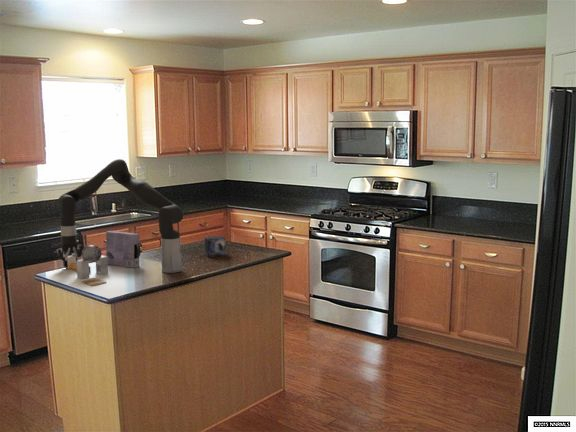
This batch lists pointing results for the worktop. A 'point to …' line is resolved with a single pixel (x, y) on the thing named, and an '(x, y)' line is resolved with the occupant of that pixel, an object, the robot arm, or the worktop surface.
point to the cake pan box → (122, 249)
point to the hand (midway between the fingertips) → (70, 266)
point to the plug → (73, 263)
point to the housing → (91, 261)
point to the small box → (215, 246)
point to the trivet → (93, 281)
